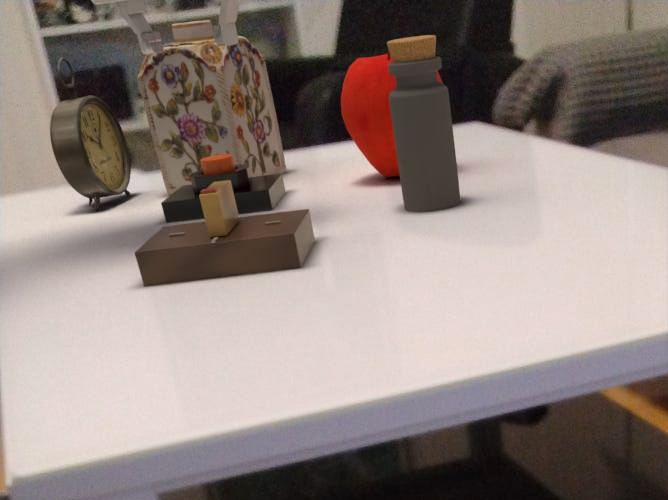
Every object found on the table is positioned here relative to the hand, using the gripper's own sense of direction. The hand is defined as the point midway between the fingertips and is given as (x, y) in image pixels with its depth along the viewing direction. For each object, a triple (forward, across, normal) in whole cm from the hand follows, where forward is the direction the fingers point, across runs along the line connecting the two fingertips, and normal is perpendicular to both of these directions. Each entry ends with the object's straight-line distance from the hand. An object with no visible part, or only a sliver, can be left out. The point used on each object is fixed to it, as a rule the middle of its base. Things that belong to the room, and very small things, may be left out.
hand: (190, 49), depth 101 cm
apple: (+16, +10, +21) cm, 28 cm away
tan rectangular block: (+13, +12, -16) cm, 24 cm away
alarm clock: (+16, -27, +10) cm, 33 cm away
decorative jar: (+16, -15, +20) cm, 30 cm away
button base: (+16, -5, +7) cm, 18 cm away
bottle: (+16, +22, +5) cm, 28 cm away
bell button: (+13, -5, +7) cm, 15 cm away
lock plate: (+16, +12, -16) cm, 26 cm away
